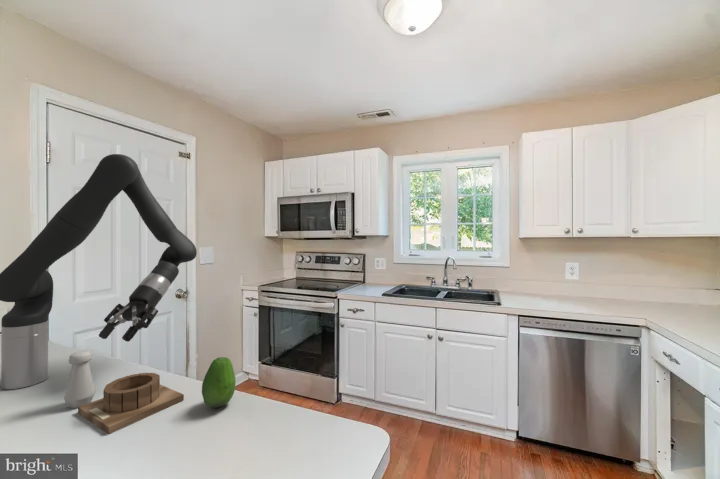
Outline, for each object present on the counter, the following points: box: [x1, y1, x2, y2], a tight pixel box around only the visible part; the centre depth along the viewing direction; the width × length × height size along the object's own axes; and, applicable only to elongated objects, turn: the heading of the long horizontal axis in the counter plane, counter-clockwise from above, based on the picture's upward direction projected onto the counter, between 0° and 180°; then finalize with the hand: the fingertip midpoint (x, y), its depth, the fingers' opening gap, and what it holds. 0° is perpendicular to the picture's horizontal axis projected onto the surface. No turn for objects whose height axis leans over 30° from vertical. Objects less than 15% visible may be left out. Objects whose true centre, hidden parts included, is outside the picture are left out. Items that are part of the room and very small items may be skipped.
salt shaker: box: [64, 350, 96, 409], centre depth 78 cm, size 6×6×13 cm
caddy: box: [77, 372, 185, 435], centre depth 76 cm, size 16×16×6 cm
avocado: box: [201, 356, 237, 409], centre depth 77 cm, size 8×8×12 cm
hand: (113, 338), depth 85 cm, fingers open, 8 cm apart
